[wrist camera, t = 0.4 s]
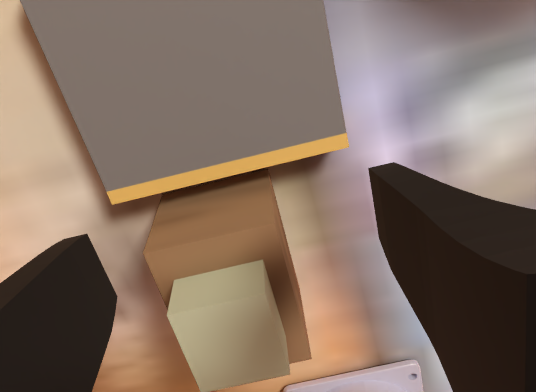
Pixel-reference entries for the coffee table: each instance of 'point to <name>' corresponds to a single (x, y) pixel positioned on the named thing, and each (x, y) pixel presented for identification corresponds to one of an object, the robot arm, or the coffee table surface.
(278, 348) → the block
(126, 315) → the coffee table surface
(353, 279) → the coffee table surface
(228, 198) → the brown block
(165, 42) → the dock
